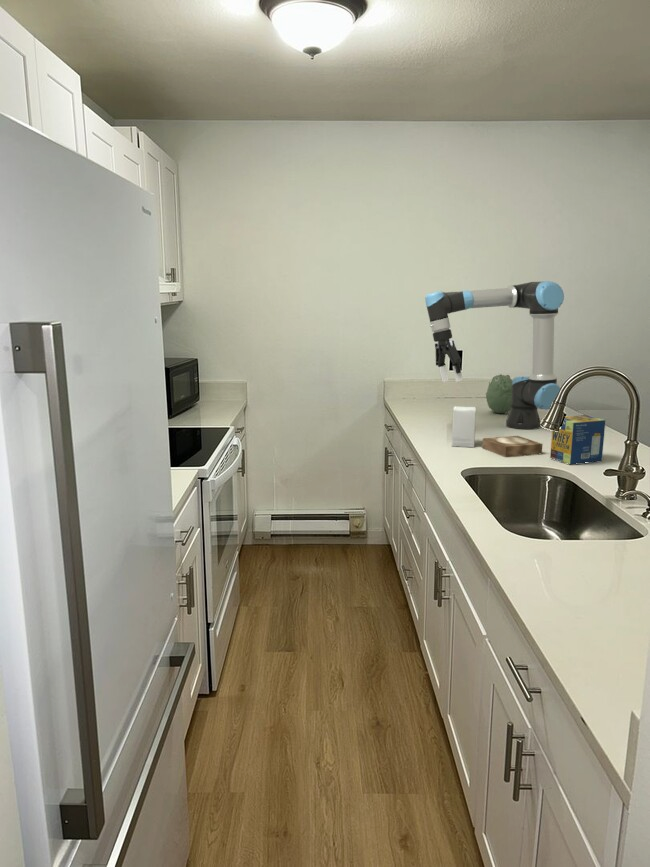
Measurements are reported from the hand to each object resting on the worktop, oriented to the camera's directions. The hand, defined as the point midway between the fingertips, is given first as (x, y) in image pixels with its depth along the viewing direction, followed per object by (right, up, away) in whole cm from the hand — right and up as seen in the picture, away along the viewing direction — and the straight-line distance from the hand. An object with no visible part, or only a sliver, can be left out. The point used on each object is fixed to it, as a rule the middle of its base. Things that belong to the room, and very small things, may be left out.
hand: (452, 381), depth 280 cm
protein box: (+39, -31, -31) cm, 59 cm away
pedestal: (+20, -28, -17) cm, 38 cm away
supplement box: (+3, -26, -6) cm, 27 cm away
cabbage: (+37, -11, +68) cm, 78 cm away
